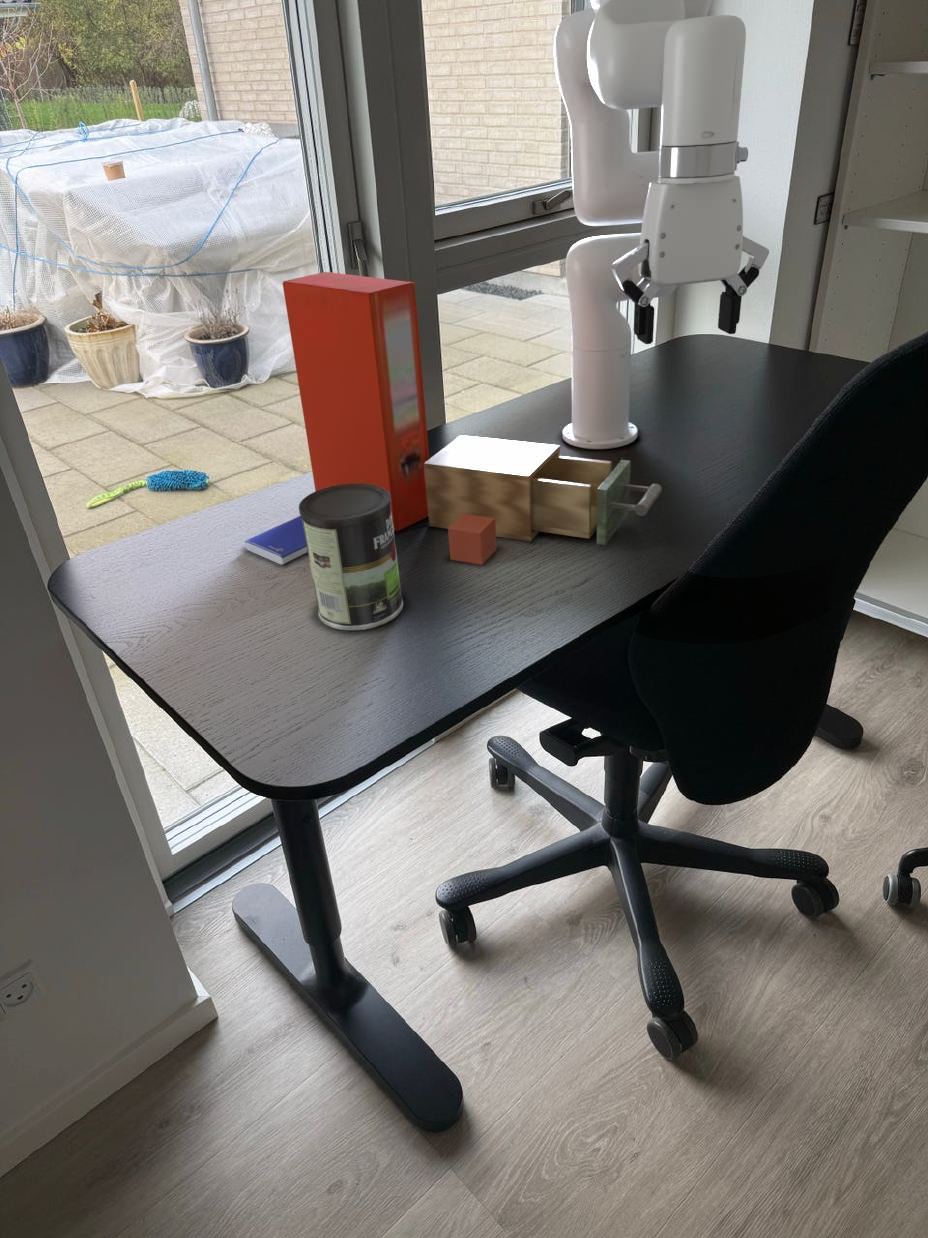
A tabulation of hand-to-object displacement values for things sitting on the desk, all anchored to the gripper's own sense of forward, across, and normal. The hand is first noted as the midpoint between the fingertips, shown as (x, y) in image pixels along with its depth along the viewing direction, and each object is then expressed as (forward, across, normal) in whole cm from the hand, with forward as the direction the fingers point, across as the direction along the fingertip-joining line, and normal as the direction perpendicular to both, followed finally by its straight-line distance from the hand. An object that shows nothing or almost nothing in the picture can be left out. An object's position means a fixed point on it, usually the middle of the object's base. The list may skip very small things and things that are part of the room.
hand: (685, 336), depth 97 cm
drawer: (+26, +9, -10) cm, 29 cm away
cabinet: (+27, +19, -18) cm, 38 cm away
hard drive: (+27, +47, -19) cm, 58 cm away
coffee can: (+27, +40, +2) cm, 49 cm away
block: (+27, +24, -8) cm, 37 cm away
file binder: (+27, +35, -27) cm, 52 cm away
